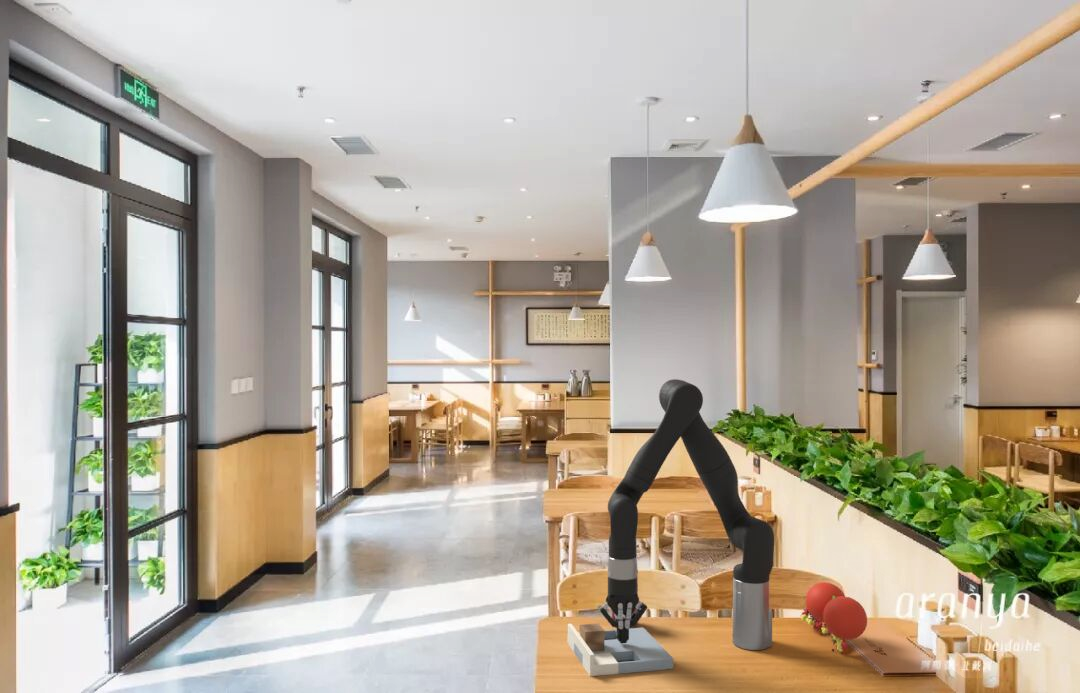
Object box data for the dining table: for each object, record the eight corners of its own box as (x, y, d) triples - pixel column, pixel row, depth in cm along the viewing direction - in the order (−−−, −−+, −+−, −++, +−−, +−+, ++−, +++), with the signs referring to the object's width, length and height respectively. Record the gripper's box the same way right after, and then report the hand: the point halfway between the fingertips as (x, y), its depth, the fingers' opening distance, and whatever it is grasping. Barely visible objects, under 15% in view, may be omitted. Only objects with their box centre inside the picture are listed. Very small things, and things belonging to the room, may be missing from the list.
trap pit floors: (615, 639, 209) (615, 638, 209) (641, 670, 189) (641, 669, 189) (593, 641, 208) (593, 640, 208) (617, 672, 188) (617, 671, 188)
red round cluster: (884, 657, 198) (873, 600, 196) (844, 671, 196) (832, 613, 195) (832, 616, 223) (822, 564, 221) (796, 627, 221) (785, 575, 220)
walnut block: (598, 643, 200) (598, 623, 200) (604, 650, 195) (604, 630, 195) (579, 644, 199) (579, 624, 199) (585, 652, 194) (585, 632, 194)
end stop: (571, 633, 207) (571, 623, 207) (594, 665, 186) (594, 654, 186) (567, 633, 207) (567, 623, 207) (590, 665, 186) (590, 655, 186)
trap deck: (643, 636, 211) (643, 627, 211) (673, 668, 191) (673, 658, 191) (567, 642, 207) (567, 633, 207) (590, 676, 186) (590, 665, 186)
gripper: (642, 568, 204) (642, 634, 204) (593, 571, 201) (593, 639, 201) (652, 576, 197) (652, 645, 197) (601, 580, 194) (602, 650, 194)
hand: (622, 642), depth 199 cm, fingers closed
